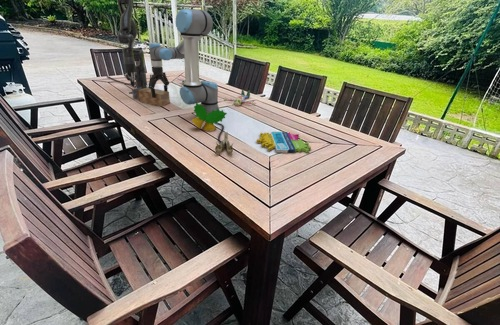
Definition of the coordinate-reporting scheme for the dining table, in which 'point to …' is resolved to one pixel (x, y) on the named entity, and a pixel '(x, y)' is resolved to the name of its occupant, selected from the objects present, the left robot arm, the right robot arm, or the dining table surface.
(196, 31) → the right robot arm
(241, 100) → the toy
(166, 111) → the dining table surface
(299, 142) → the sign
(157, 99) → the wooden recessed-top box
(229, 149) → the jawbone
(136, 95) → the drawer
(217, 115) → the ornament
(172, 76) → the dining table surface
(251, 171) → the dining table surface
